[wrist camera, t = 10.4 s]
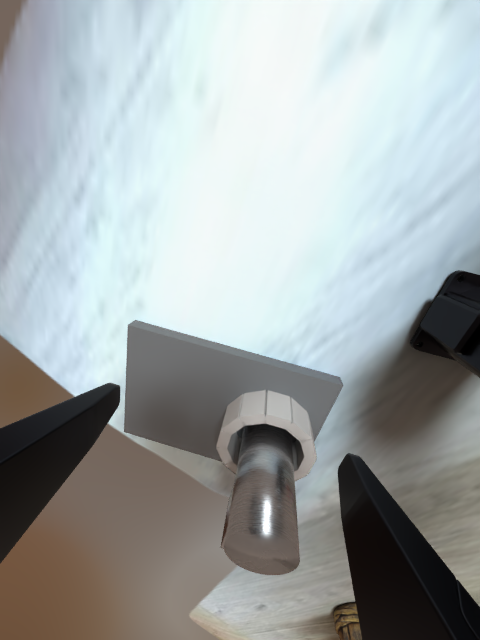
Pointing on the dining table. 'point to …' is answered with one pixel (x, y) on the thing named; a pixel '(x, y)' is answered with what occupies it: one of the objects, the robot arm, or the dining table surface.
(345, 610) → the wooden mug
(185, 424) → the duct plate
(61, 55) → the dining table surface
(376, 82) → the dining table surface
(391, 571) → the robot arm
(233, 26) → the dining table surface
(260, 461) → the brushed steel cylinder
